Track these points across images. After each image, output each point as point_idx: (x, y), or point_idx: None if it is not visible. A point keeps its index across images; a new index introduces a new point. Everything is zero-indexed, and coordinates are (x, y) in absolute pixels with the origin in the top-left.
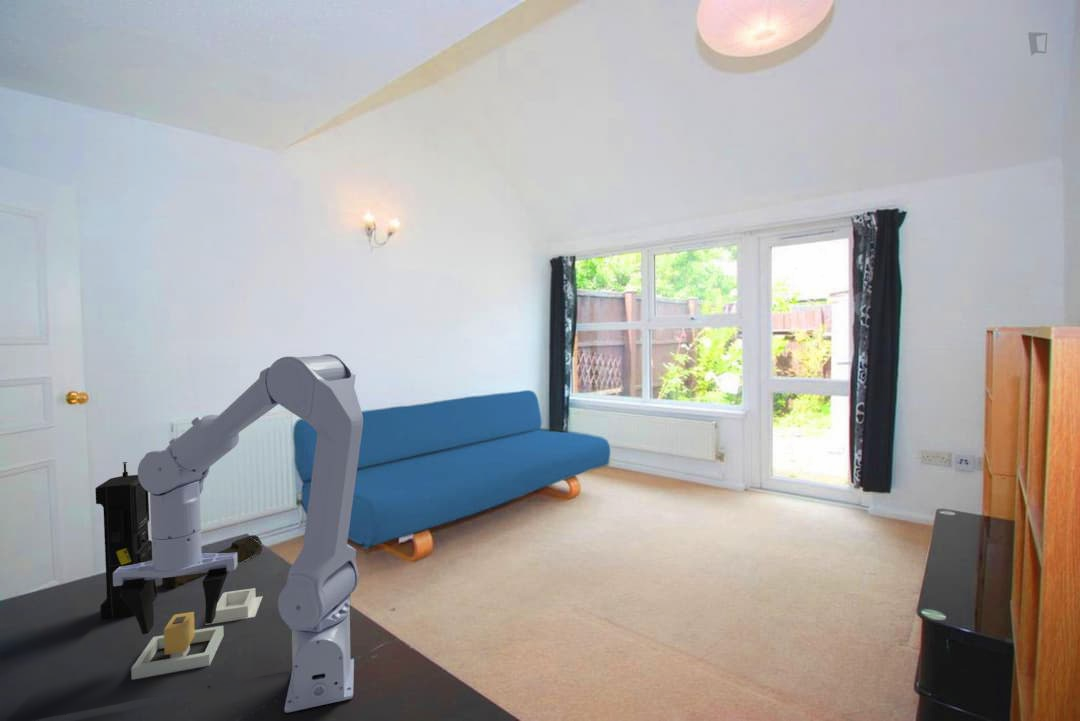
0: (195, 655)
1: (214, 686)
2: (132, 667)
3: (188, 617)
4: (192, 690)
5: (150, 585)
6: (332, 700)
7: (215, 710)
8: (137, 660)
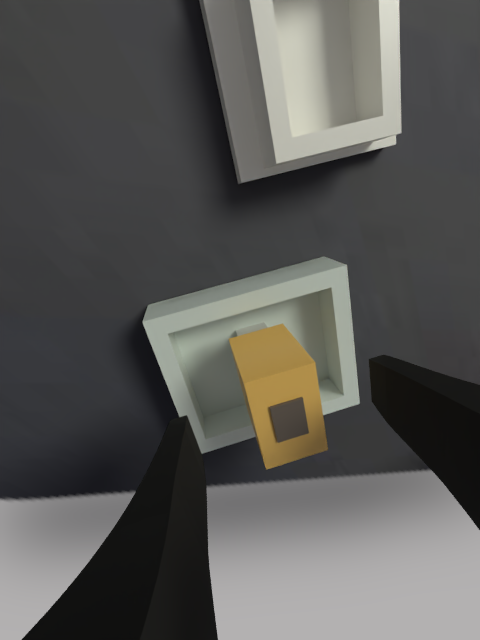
0: (328, 408)
1: (365, 421)
2: None
3: (313, 401)
4: (329, 432)
5: (180, 628)
6: None
7: (387, 470)
8: None
